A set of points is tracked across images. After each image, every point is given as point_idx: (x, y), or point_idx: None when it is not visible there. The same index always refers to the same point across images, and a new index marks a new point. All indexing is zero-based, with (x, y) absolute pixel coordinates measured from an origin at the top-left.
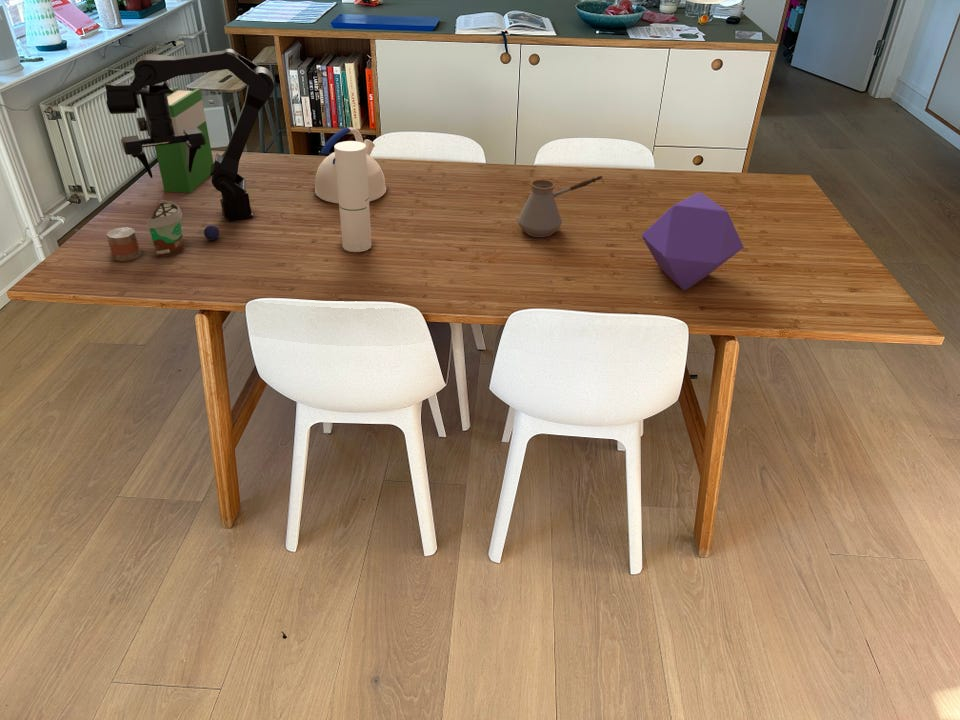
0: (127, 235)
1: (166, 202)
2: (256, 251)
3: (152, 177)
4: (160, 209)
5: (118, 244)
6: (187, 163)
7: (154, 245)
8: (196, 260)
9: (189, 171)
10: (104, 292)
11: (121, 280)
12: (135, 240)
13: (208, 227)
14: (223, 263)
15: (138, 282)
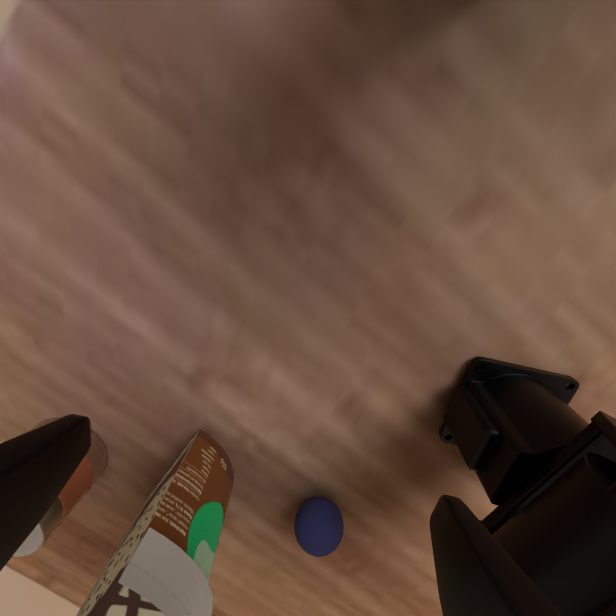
0: (17, 553)
1: (155, 591)
2: (375, 604)
3: (85, 454)
4: (117, 612)
5: None
6: (478, 611)
7: (123, 540)
8: (230, 561)
9: (432, 540)
10: (10, 559)
11: (47, 540)
12: (62, 521)
13: (309, 551)
14: (278, 602)
15: (82, 565)
